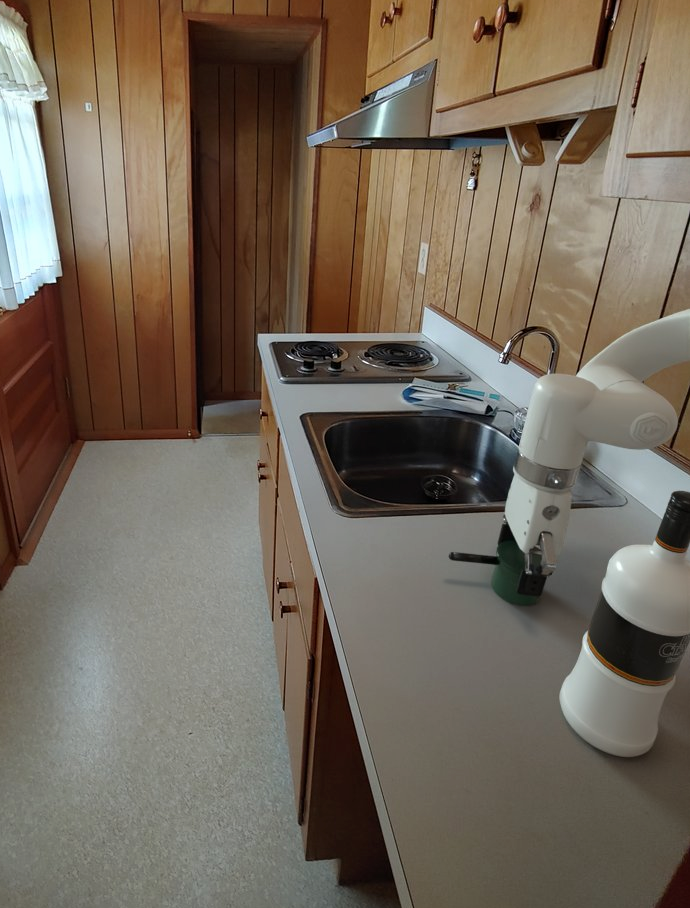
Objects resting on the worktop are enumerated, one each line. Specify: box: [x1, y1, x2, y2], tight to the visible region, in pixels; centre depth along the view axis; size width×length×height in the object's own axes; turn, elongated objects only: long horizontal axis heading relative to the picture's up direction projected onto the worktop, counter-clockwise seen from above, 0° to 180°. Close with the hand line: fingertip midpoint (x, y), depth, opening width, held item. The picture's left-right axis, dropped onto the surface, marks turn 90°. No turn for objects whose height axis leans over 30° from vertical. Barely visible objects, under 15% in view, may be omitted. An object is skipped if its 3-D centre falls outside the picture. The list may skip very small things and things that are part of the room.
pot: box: [448, 540, 542, 607], centre depth 80 cm, size 14×7×6 cm, turn 83°
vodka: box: [558, 490, 690, 758], centre depth 56 cm, size 9×9×30 cm
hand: (517, 569), depth 79 cm, fingers open, 9 cm apart
